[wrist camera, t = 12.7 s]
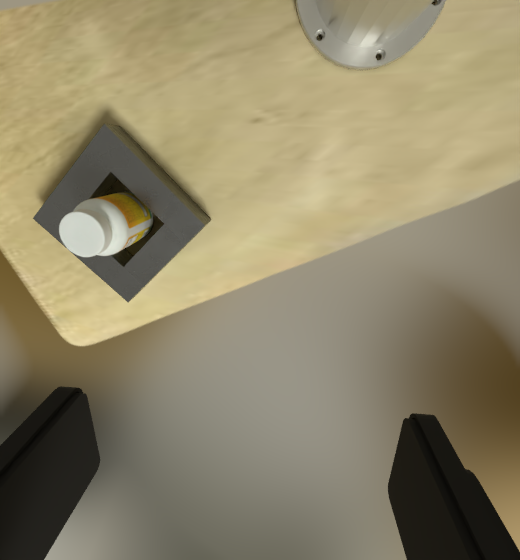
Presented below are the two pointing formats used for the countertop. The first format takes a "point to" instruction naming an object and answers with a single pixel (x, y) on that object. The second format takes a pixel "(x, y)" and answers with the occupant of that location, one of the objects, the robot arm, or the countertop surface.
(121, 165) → the square hole block
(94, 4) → the countertop surface
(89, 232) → the supplement bottle
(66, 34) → the countertop surface
